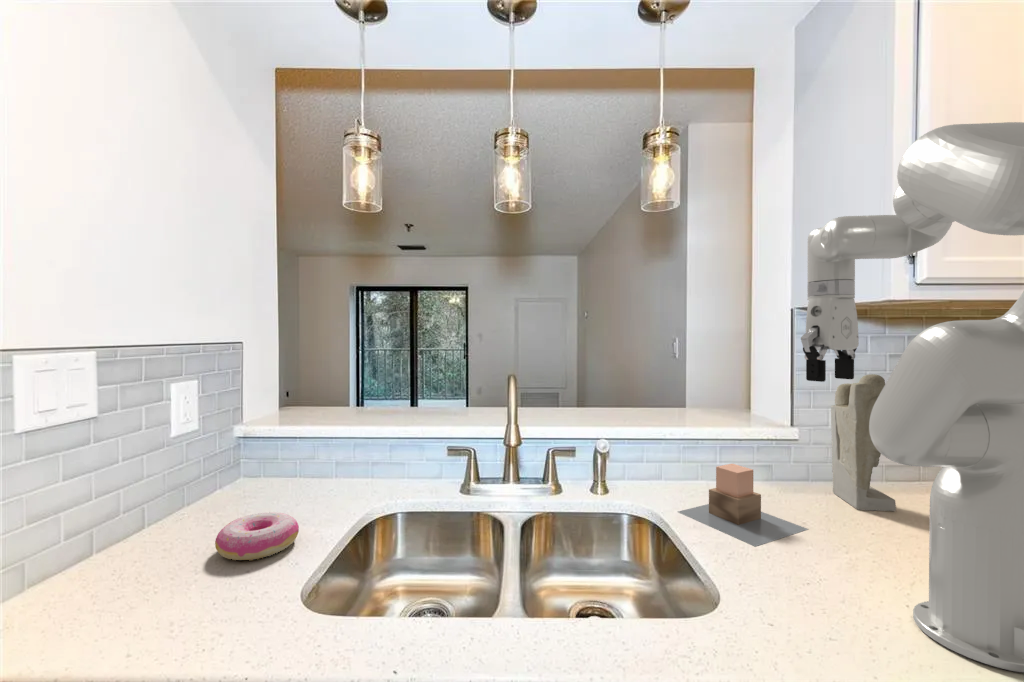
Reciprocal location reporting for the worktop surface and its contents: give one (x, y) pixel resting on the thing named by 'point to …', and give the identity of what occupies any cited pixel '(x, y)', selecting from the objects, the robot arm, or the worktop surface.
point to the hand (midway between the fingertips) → (830, 379)
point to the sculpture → (856, 445)
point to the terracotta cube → (734, 480)
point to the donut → (256, 536)
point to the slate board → (746, 526)
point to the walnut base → (735, 506)
